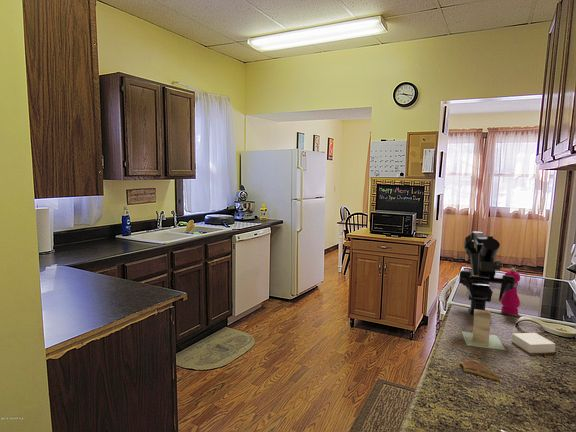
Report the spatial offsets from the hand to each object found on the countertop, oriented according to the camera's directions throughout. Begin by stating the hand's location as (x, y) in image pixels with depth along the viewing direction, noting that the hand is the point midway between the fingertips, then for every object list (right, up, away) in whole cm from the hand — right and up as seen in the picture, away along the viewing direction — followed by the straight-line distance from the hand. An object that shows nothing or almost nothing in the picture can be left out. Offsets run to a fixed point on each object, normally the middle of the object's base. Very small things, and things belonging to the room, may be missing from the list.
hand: (485, 299), depth 140 cm
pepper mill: (+24, -11, +25) cm, 36 cm away
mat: (-4, -14, -4) cm, 15 cm away
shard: (-15, -17, -25) cm, 33 cm away
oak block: (-5, -14, -6) cm, 16 cm away
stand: (+12, -15, -9) cm, 21 cm away
